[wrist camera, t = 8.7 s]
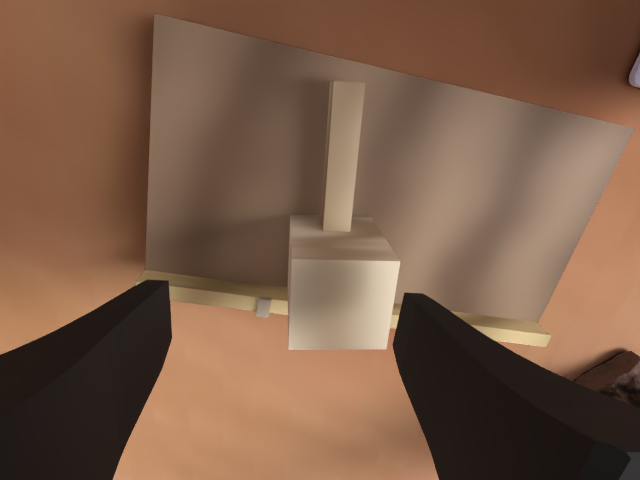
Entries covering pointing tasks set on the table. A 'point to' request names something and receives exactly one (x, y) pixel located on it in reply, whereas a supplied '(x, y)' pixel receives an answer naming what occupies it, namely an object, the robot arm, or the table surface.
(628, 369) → the statue
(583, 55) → the table surface
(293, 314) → the wooden mallet
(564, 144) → the walnut board
